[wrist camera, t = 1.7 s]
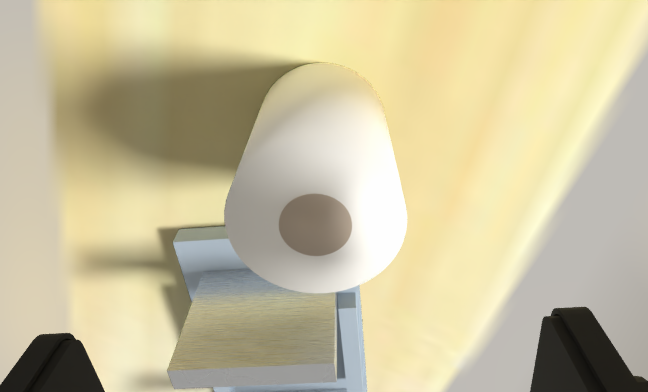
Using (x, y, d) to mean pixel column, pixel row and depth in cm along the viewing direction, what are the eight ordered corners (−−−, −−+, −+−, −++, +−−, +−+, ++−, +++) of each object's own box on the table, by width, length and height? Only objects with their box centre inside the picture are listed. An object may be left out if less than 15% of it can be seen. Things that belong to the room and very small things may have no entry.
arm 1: (203, 270, 22) (167, 370, 17) (335, 263, 22) (334, 363, 17) (212, 300, 23) (179, 402, 18) (338, 293, 22) (338, 396, 18)
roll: (249, 68, 18) (205, 151, 12) (383, 57, 18) (407, 135, 12) (269, 184, 21) (241, 299, 15) (387, 175, 20) (408, 291, 14)
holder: (178, 229, 22) (165, 256, 20) (354, 217, 21) (355, 244, 20) (233, 408, 29) (226, 440, 27) (368, 403, 28) (370, 435, 26)
